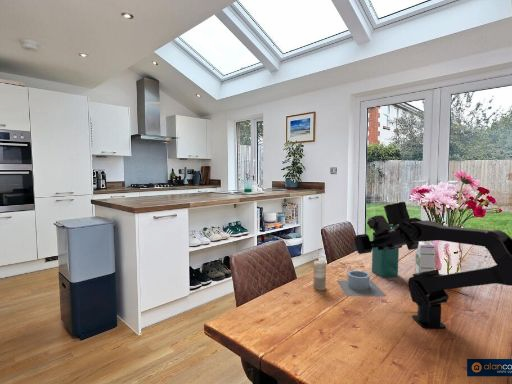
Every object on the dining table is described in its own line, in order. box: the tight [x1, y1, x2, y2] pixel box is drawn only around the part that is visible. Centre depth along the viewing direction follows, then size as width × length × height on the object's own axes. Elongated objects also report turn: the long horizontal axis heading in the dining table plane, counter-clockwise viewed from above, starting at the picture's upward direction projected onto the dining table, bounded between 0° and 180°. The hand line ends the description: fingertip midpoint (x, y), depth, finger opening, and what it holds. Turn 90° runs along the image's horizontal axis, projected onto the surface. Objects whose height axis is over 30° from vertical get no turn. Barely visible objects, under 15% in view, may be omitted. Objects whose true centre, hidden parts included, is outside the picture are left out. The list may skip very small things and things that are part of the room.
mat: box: [336, 280, 387, 297], centre depth 109 cm, size 14×14×1 cm
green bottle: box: [371, 223, 400, 278], centre depth 124 cm, size 10×8×22 cm
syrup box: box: [414, 241, 436, 274], centre depth 120 cm, size 6×6×14 cm
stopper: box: [313, 260, 327, 291], centre depth 109 cm, size 4×4×10 cm
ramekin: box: [346, 270, 371, 290], centre depth 111 cm, size 8×8×4 cm
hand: (362, 246), depth 108 cm, fingers open, 9 cm apart
